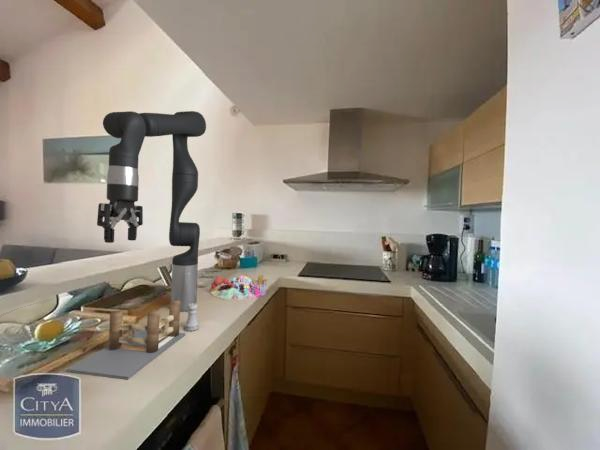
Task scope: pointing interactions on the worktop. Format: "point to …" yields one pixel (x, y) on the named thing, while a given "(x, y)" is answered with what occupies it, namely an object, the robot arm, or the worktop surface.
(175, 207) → the robot arm
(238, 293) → the candy landscape model
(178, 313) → the fixed fence section
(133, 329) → the swinging fence panel
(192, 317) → the rook chess piece
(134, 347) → the board
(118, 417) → the worktop surface
